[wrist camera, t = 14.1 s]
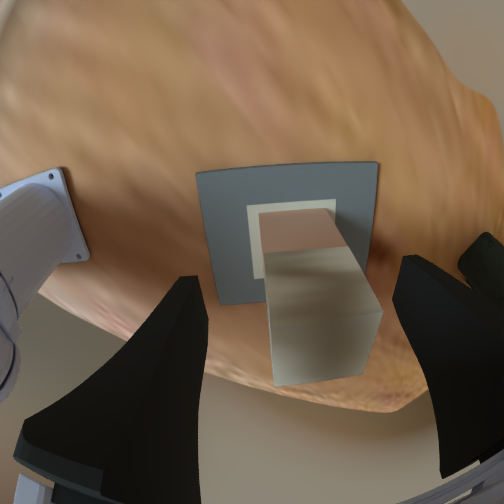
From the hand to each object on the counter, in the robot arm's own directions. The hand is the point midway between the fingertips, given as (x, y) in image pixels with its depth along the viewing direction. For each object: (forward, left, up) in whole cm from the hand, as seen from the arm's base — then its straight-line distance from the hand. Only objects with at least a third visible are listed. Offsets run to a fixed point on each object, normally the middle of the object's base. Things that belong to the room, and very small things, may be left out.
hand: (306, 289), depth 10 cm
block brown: (+1, -4, -10) cm, 11 cm away
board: (+1, -4, -10) cm, 11 cm away
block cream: (+1, -4, -5) cm, 6 cm away
